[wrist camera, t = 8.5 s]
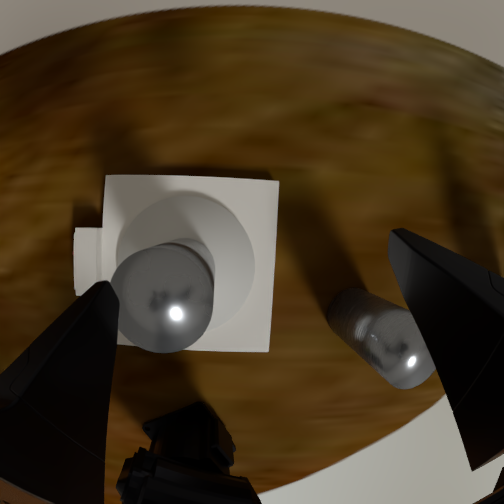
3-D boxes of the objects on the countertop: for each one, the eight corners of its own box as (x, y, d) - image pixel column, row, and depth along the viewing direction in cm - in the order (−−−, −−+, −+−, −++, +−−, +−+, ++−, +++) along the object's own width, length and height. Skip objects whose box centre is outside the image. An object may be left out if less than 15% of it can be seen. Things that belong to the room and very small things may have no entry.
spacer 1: (172, 309, 22) (142, 368, 12) (143, 255, 22) (90, 278, 12) (226, 282, 23) (232, 325, 13) (197, 226, 22) (180, 227, 12)
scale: (266, 346, 25) (270, 357, 23) (86, 335, 23) (75, 344, 21) (276, 183, 24) (282, 178, 22) (87, 177, 22) (74, 173, 20)
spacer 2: (338, 346, 26) (394, 401, 16) (319, 303, 25) (375, 347, 15) (380, 320, 26) (449, 361, 16) (363, 278, 26) (435, 305, 16)
